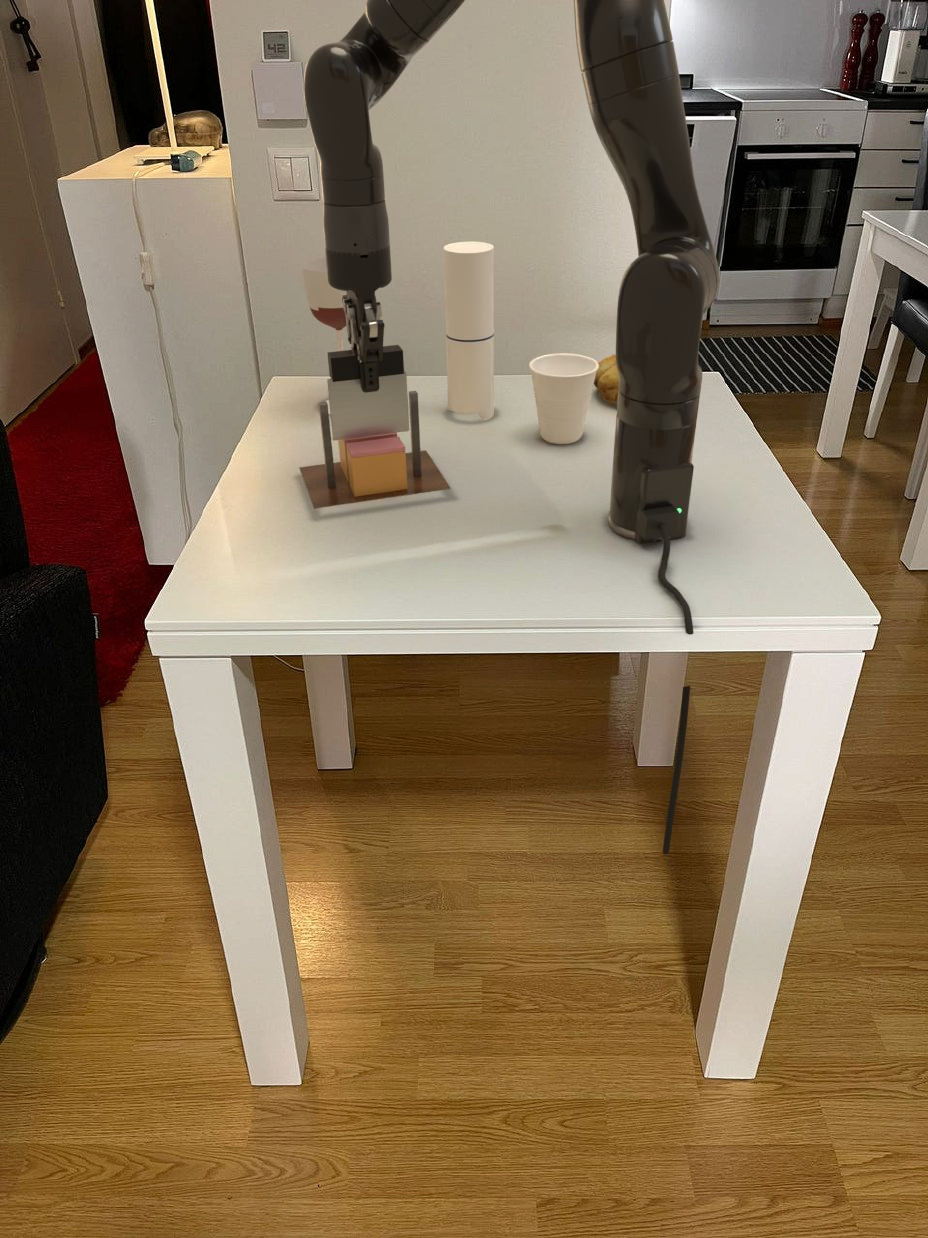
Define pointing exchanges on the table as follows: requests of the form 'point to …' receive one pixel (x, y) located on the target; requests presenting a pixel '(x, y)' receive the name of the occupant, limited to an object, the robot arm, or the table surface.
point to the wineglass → (324, 298)
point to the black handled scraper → (367, 396)
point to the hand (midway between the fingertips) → (367, 386)
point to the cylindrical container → (470, 327)
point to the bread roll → (608, 379)
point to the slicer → (334, 488)
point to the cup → (562, 394)
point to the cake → (374, 464)
